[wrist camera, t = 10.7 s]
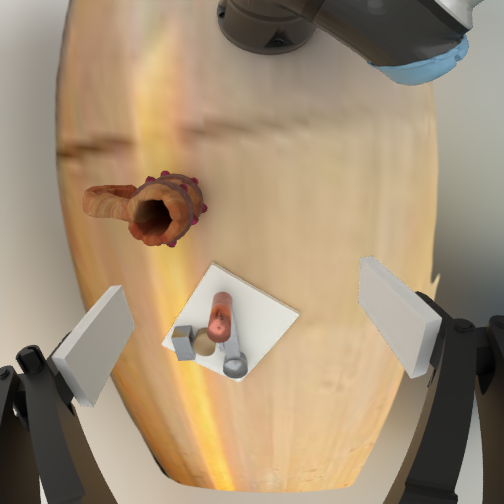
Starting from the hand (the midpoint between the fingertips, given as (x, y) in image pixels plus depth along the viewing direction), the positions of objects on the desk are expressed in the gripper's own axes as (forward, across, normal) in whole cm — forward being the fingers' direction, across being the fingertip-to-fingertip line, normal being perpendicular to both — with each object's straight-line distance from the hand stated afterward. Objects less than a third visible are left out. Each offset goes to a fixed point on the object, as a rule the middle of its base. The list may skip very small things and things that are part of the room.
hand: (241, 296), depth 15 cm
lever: (+27, -5, -21) cm, 34 cm away
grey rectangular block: (+28, -13, -22) cm, 37 cm away
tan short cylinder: (+28, -9, -21) cm, 36 cm away
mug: (+29, -12, +3) cm, 31 cm away
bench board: (+29, -5, -21) cm, 36 cm away
